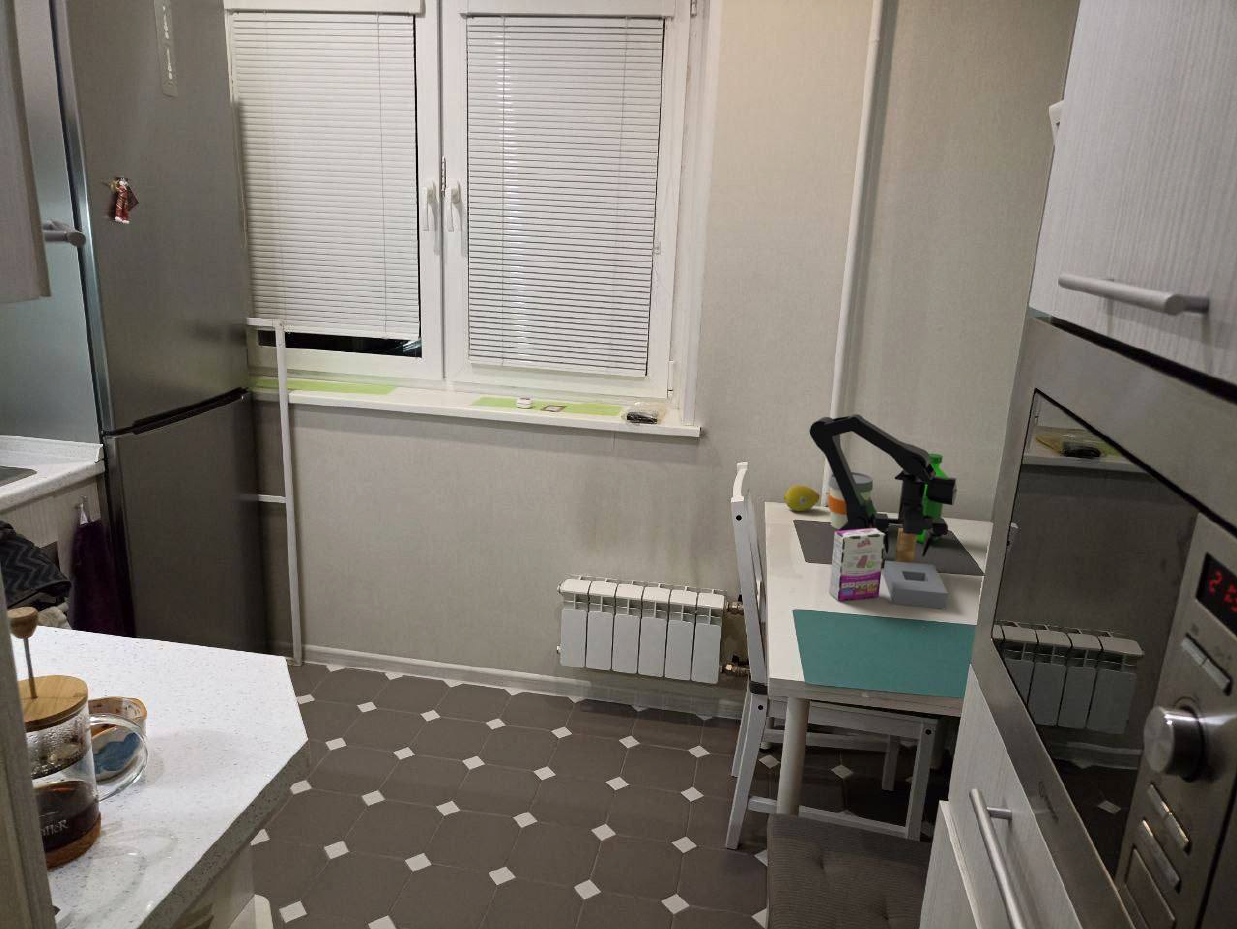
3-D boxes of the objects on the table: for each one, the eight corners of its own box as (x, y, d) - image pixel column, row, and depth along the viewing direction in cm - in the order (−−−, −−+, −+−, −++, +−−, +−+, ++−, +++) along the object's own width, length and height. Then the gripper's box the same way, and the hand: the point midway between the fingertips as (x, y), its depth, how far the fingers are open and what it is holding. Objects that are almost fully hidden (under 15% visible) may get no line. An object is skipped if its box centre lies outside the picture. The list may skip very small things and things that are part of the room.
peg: (896, 569, 236) (901, 533, 233) (894, 563, 240) (898, 528, 237) (912, 570, 235) (917, 534, 233) (909, 564, 239) (914, 529, 236)
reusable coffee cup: (816, 520, 271) (821, 472, 267) (853, 517, 275) (858, 470, 271) (838, 534, 260) (843, 484, 256) (876, 531, 264) (882, 482, 260)
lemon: (781, 512, 278) (783, 487, 275) (784, 504, 285) (786, 480, 283) (816, 516, 275) (819, 491, 273) (818, 508, 282) (821, 484, 280)
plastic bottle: (914, 530, 265) (925, 448, 258) (948, 540, 258) (960, 456, 251) (898, 538, 258) (908, 454, 251) (932, 549, 251) (944, 462, 244)
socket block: (893, 604, 214) (895, 588, 213) (883, 575, 232) (885, 560, 230) (945, 608, 213) (947, 593, 212) (931, 579, 230) (933, 564, 229)
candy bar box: (868, 589, 222) (875, 527, 218) (879, 598, 218) (886, 534, 213) (827, 593, 219) (834, 529, 215) (837, 601, 215) (844, 537, 210)
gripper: (878, 504, 226) (871, 562, 230) (956, 510, 223) (947, 569, 228) (873, 491, 236) (866, 547, 241) (947, 497, 234) (939, 553, 238)
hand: (904, 554), depth 236 cm, fingers open, 9 cm apart
